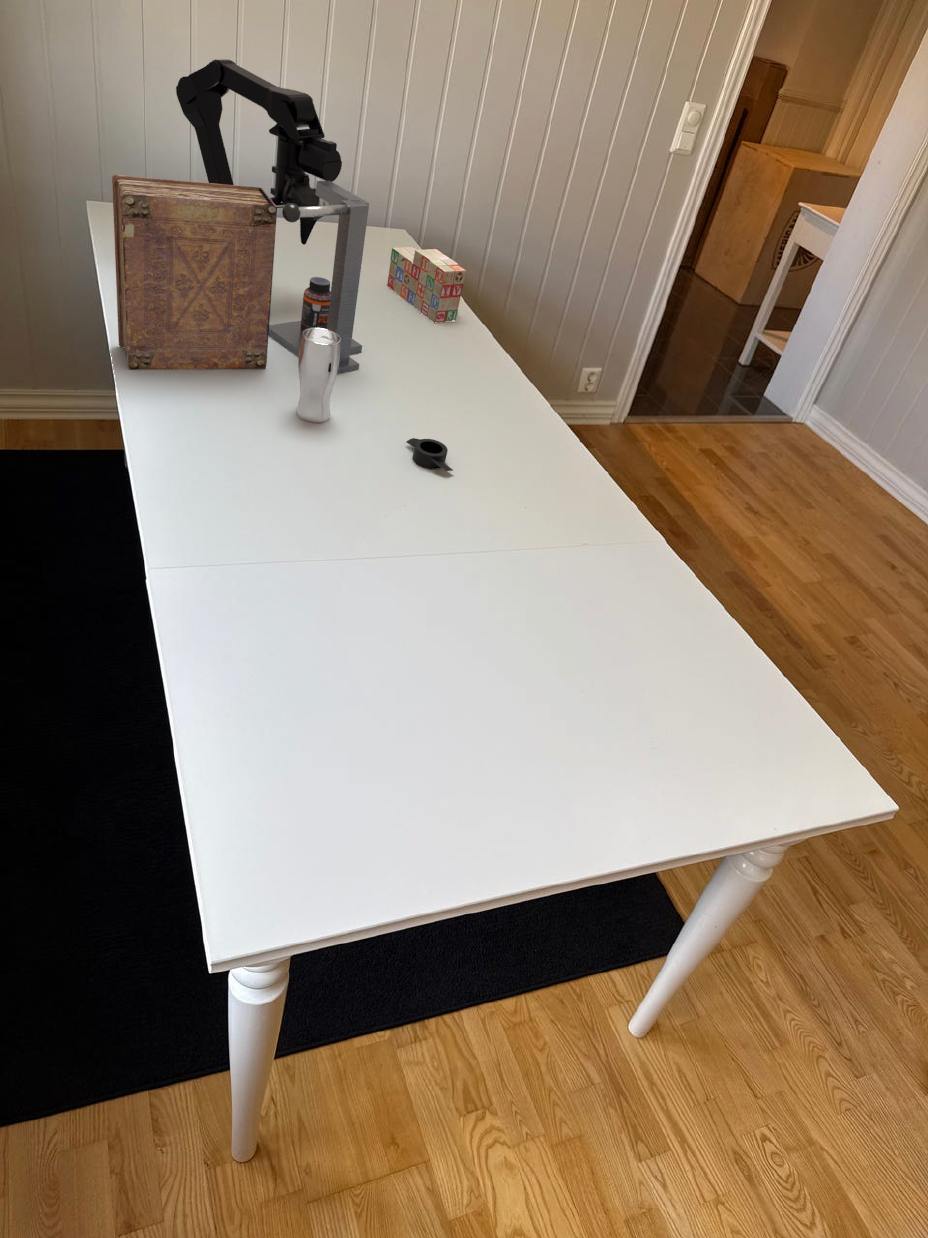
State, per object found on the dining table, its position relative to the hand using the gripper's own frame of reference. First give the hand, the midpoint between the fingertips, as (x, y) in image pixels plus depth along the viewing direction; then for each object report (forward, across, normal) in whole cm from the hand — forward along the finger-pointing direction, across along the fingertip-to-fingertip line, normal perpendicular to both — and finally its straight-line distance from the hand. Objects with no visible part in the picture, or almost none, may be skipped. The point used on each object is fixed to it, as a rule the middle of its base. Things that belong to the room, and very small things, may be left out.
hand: (285, 245), depth 183 cm
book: (+13, -30, -15) cm, 36 cm away
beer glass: (+13, -22, -42) cm, 49 cm away
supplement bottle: (+12, -4, -17) cm, 21 cm away
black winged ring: (+14, -12, -63) cm, 65 cm away
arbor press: (+13, -9, -20) cm, 26 cm away
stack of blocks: (+13, +34, -8) cm, 38 cm away
